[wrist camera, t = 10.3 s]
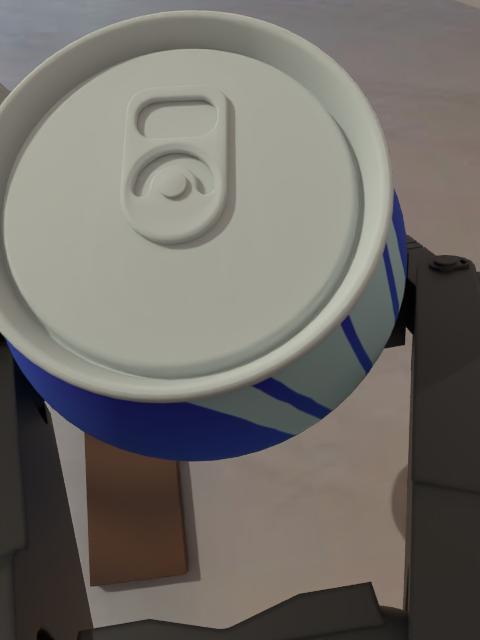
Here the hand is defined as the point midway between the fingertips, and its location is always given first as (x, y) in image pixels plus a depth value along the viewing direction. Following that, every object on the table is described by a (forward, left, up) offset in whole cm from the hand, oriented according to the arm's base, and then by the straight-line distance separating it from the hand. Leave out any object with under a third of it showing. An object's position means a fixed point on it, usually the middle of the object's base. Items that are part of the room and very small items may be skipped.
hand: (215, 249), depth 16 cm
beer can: (+2, -2, -7) cm, 7 cm away
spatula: (-5, -9, -17) cm, 20 cm away
